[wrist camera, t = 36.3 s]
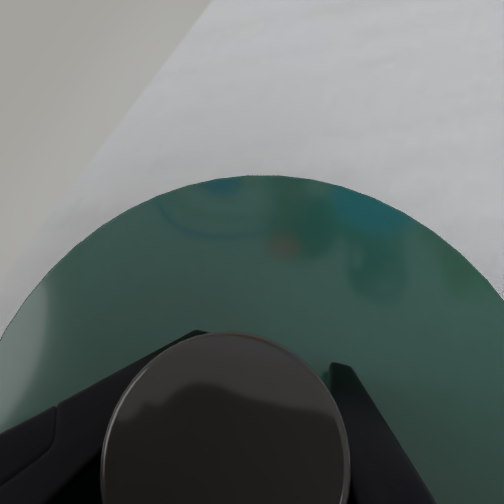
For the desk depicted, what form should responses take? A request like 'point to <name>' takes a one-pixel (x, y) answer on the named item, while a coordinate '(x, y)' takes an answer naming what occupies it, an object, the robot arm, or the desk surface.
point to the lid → (266, 345)
